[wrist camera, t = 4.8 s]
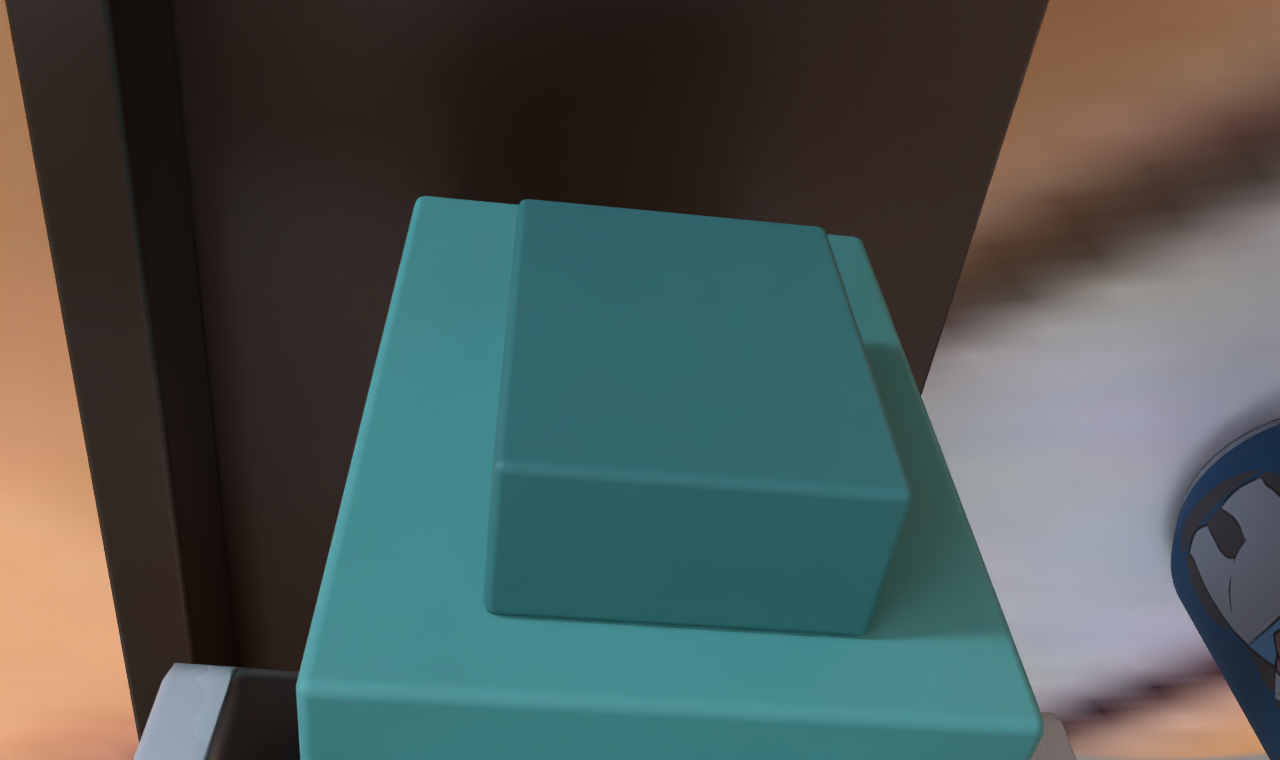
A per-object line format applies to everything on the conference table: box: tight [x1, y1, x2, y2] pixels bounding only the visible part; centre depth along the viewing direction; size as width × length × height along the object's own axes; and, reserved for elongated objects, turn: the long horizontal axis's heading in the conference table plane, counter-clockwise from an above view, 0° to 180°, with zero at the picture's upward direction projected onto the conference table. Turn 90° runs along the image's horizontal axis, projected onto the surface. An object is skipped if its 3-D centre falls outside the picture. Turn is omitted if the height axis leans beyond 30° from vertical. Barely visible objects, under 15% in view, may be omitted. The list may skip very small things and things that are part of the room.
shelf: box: [5, 0, 1049, 743], centre depth 17 cm, size 11×22×14 cm, turn 173°
